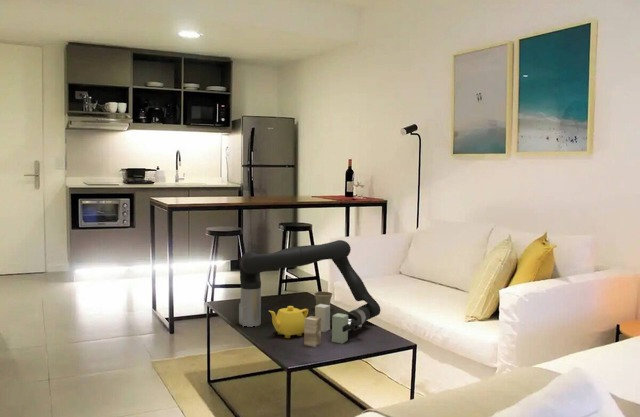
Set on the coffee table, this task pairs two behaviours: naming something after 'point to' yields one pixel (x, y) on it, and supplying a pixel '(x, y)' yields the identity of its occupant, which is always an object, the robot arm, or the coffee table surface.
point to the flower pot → (323, 298)
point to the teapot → (289, 321)
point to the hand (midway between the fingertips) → (337, 328)
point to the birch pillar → (312, 331)
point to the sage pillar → (339, 328)
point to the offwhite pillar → (323, 316)
